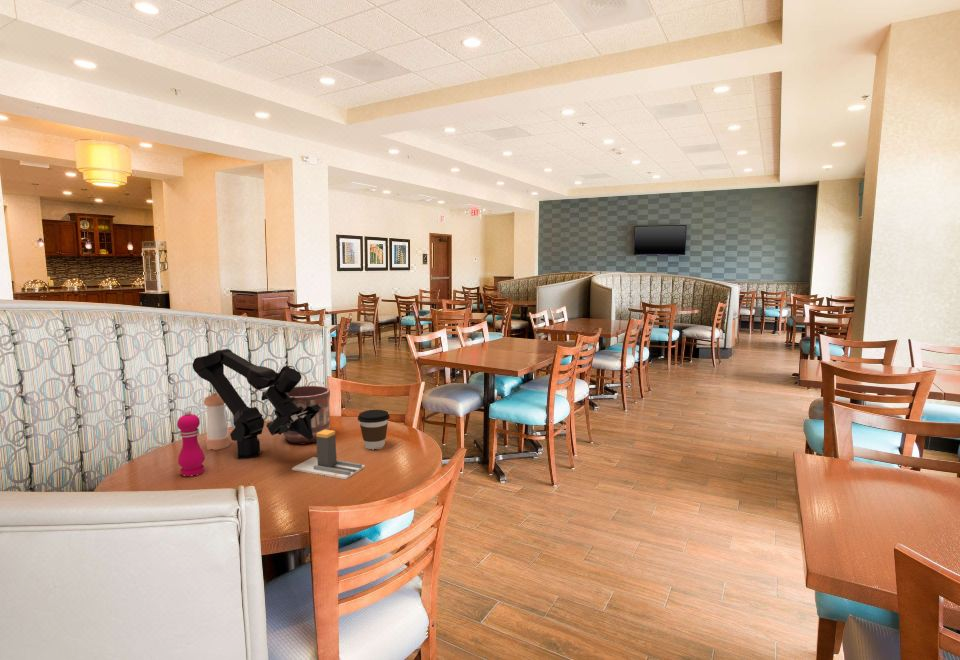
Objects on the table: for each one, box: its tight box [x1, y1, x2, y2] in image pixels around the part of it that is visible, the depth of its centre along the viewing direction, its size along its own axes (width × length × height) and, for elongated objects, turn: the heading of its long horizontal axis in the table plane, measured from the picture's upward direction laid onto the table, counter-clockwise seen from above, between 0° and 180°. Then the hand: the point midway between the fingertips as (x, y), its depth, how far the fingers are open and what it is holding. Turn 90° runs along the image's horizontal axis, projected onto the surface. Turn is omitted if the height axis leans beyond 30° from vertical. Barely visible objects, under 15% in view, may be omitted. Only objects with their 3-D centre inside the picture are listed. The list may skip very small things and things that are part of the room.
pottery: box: [282, 385, 331, 445], centre depth 191 cm, size 18×18×18 cm
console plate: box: [291, 456, 366, 480], centre depth 164 cm, size 20×10×2 cm, turn 68°
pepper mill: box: [176, 409, 206, 476], centre depth 160 cm, size 7×7×20 cm
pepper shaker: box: [203, 392, 231, 451], centre depth 184 cm, size 7×7×19 cm
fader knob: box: [316, 429, 337, 468], centre depth 163 cm, size 4×4×11 cm
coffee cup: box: [357, 409, 391, 451], centre depth 182 cm, size 11×11×12 cm
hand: (311, 439), depth 165 cm, fingers closed
